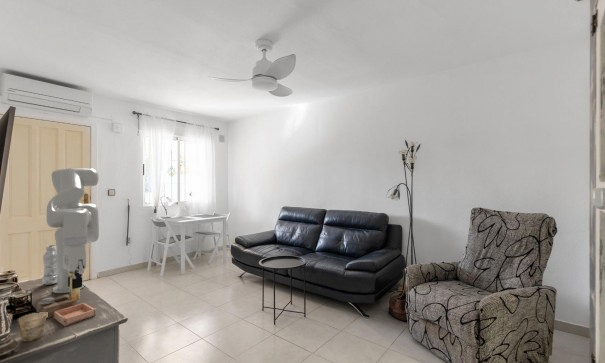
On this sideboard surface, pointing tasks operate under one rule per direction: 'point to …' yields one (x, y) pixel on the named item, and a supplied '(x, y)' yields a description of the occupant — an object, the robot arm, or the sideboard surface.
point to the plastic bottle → (50, 265)
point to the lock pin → (73, 292)
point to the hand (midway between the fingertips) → (75, 286)
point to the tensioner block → (54, 304)
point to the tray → (74, 314)
